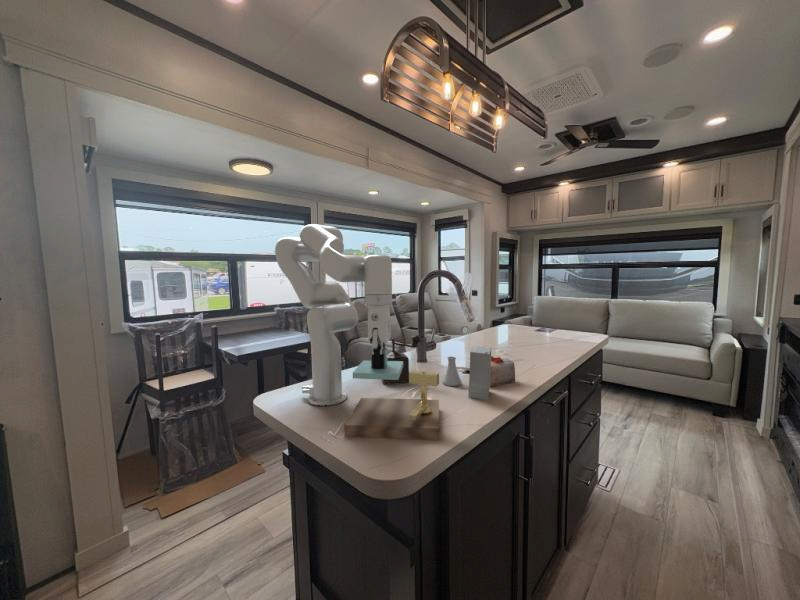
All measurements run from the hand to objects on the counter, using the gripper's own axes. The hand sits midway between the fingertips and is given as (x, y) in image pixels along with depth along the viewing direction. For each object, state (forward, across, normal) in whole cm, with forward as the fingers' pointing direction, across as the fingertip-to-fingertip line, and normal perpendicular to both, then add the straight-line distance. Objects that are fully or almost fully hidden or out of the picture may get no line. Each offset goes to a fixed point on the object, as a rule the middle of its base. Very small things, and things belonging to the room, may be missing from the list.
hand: (379, 366), depth 86 cm
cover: (+2, 0, 0) cm, 2 cm away
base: (+16, 0, -4) cm, 16 cm away
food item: (+16, +34, -38) cm, 54 cm away
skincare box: (+16, +22, -30) cm, 41 cm away
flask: (+16, +33, -22) cm, 42 cm away
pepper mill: (+16, +37, -2) cm, 40 cm away
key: (+12, -4, -11) cm, 17 cm away
